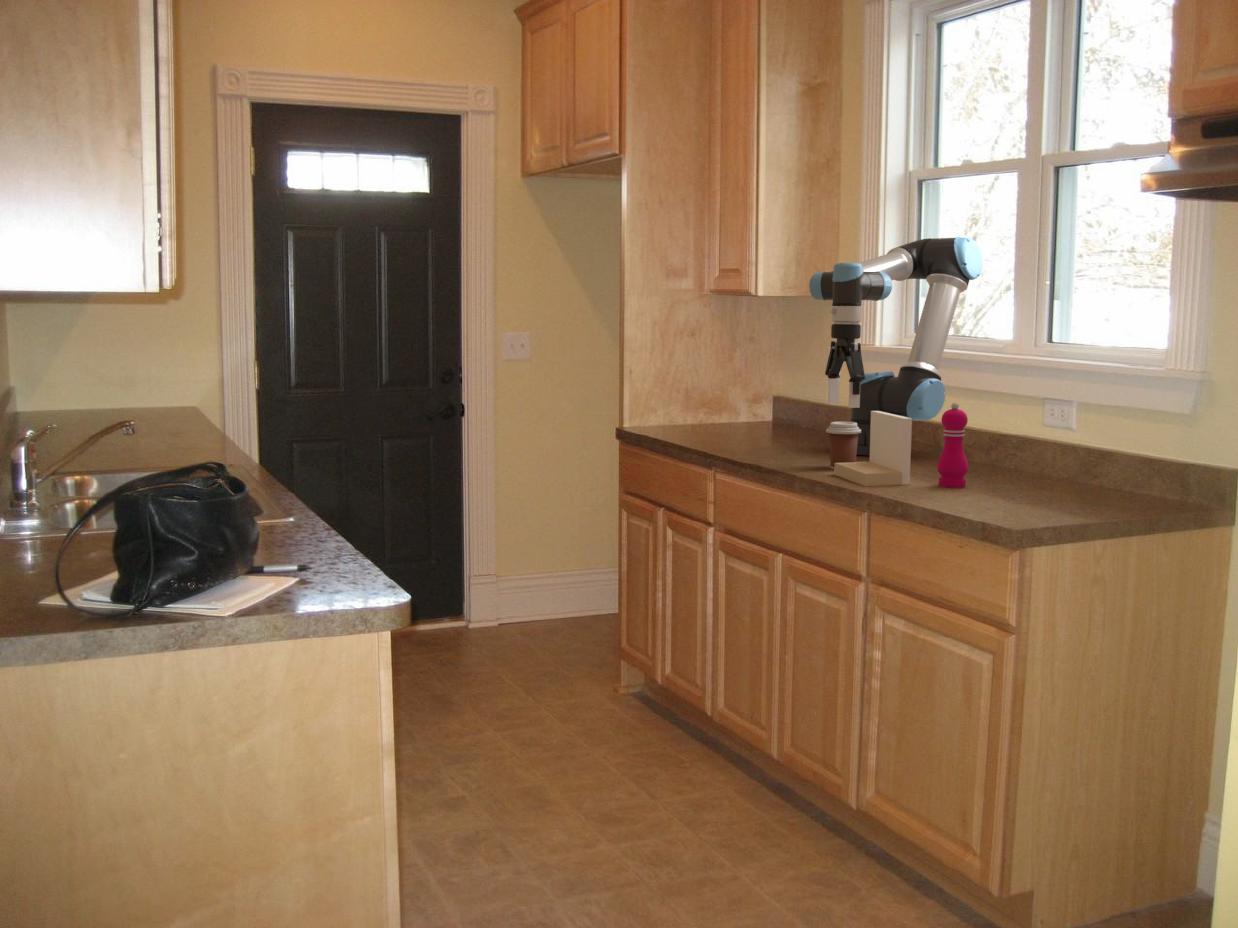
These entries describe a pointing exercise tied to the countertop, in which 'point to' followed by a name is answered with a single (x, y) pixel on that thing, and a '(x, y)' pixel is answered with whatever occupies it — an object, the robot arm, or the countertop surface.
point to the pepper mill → (953, 449)
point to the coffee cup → (843, 442)
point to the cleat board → (883, 453)
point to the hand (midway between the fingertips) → (843, 405)
